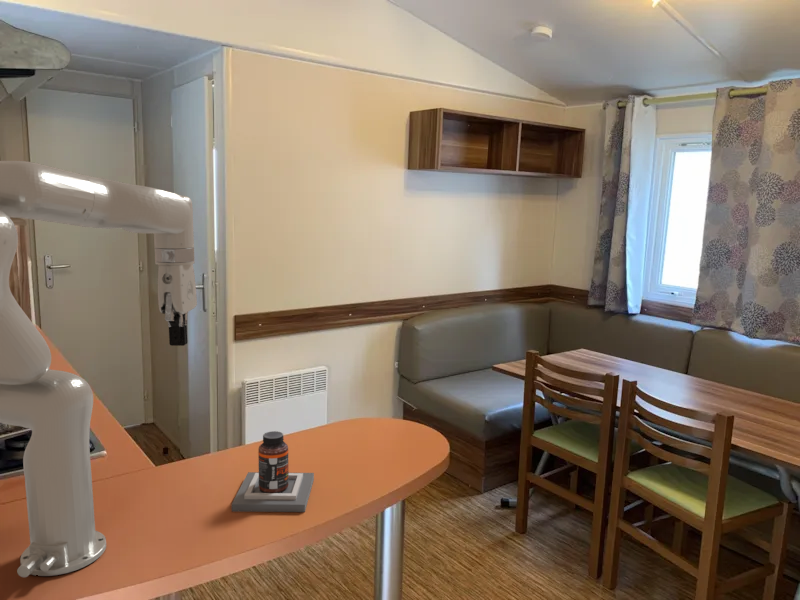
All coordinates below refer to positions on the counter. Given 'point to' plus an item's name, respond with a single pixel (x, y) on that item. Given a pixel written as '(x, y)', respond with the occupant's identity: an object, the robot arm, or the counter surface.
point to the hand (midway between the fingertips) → (178, 344)
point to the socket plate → (274, 495)
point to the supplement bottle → (273, 463)
